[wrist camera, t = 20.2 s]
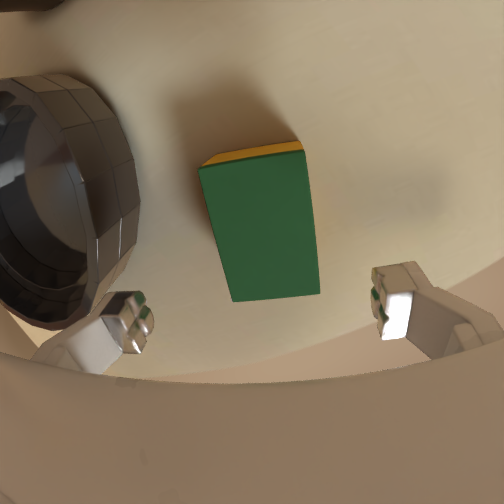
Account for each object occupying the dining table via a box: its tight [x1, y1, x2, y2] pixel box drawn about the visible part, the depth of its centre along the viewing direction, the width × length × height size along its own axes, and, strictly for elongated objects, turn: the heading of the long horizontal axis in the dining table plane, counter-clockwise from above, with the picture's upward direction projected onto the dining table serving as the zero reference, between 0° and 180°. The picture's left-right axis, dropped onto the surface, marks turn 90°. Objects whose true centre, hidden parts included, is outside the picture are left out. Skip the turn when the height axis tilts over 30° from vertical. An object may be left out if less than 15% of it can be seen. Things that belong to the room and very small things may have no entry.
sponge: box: [198, 141, 320, 302], centre depth 14 cm, size 7×4×4 cm, turn 11°
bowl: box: [0, 74, 140, 331], centre depth 14 cm, size 16×16×6 cm
